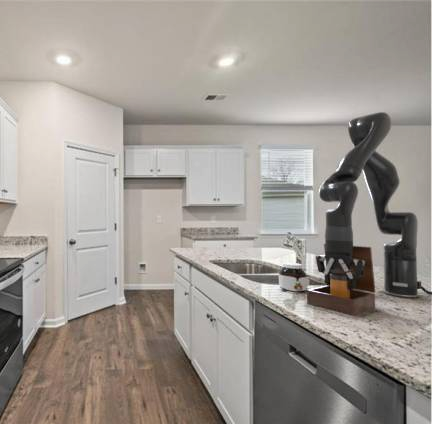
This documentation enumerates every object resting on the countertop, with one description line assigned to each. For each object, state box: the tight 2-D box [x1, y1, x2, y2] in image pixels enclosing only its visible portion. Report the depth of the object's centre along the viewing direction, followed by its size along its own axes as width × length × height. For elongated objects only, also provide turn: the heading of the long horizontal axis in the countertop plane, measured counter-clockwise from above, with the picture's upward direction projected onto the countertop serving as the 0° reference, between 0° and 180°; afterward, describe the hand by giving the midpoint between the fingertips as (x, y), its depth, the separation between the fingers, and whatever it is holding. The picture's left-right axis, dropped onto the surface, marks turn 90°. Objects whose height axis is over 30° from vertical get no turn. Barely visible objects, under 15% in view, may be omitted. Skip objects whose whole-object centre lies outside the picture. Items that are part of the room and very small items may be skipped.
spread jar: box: [278, 262, 310, 293], centre depth 120 cm, size 12×11×12 cm
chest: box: [306, 285, 376, 317], centre depth 96 cm, size 15×14×6 cm
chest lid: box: [323, 243, 376, 293], centre depth 99 cm, size 16×14×1 cm
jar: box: [329, 273, 350, 299], centre depth 96 cm, size 6×6×11 cm
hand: (339, 287), depth 96 cm, fingers closed on jar, 6 cm apart
